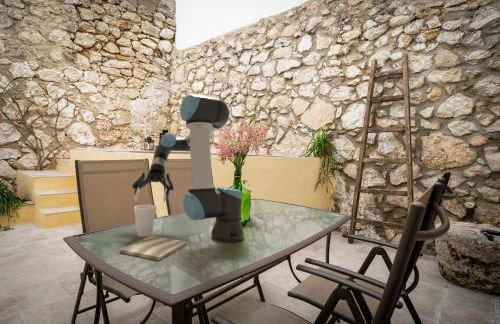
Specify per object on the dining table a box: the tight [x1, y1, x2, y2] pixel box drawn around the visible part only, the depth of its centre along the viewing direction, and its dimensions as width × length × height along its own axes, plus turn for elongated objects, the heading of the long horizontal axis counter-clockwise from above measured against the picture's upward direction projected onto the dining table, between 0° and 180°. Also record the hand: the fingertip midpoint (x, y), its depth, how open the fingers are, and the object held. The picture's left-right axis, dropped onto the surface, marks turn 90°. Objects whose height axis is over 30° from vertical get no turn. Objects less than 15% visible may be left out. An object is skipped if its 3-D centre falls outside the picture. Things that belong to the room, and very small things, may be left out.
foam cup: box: [133, 204, 157, 238], centre depth 124 cm, size 10×9×13 cm
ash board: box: [119, 235, 188, 261], centre depth 108 cm, size 18×18×1 cm
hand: (150, 200), depth 132 cm, fingers open, 13 cm apart
